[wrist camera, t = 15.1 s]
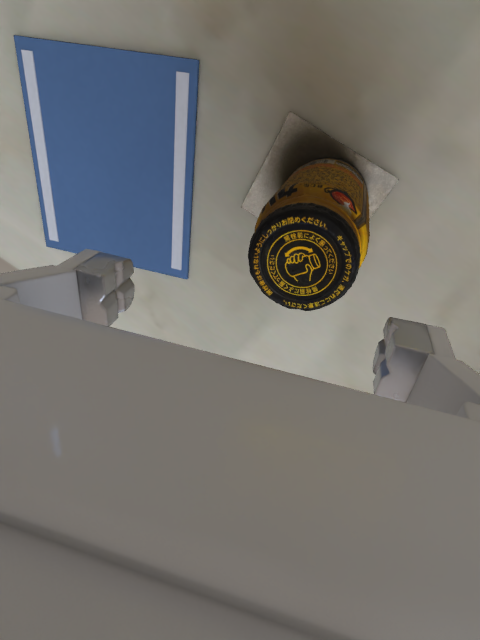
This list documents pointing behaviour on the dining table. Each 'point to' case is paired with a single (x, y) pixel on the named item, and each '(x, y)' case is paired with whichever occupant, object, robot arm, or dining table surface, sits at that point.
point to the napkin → (112, 149)
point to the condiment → (311, 216)
